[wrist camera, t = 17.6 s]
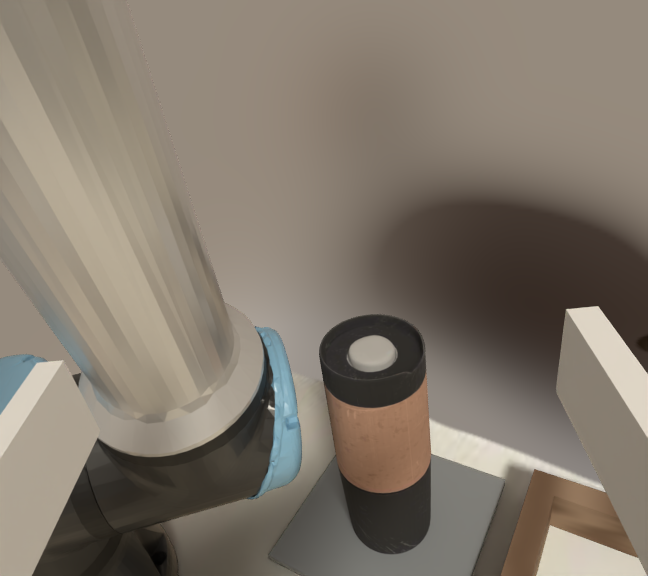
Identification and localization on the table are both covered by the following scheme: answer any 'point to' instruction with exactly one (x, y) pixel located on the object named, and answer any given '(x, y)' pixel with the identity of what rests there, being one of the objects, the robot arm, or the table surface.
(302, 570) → the rubber mat
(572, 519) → the frame
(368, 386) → the travel mug
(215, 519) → the table surface
